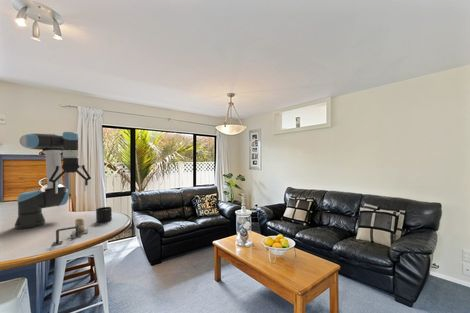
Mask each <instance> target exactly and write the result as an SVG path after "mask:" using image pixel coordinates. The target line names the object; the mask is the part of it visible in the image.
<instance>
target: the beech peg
mask: <svg viewBox="0 0 470 313" xmlns="http://www.w3.org/2000/svg"><path fill="white" fill-rule="evenodd" d="M74 221H75V225H76V224H78V233H82V232H84V229H85V217H78V218H75V220H74ZM75 230H76V228H75Z"/></svg>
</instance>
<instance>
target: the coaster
mask: <svg viewBox="0 0 470 313" xmlns="http://www.w3.org/2000/svg"><path fill="white" fill-rule="evenodd" d="M88 231H89V229H88V228H84V232H82V233H78V235H79V234H81V236H82V235H86V234H87V235H88V233H89V232H88ZM73 235H76V230H72V231H71V233H70V237H73Z"/></svg>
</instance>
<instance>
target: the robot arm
mask: <svg viewBox="0 0 470 313" xmlns="http://www.w3.org/2000/svg"><path fill="white" fill-rule="evenodd" d="M79 139H80V138H79V133H78V132H75V131H64V132H62V135H61V134H55V133H27V134H23V135H22V136H21V137H20V139H19V143H20V145H21V146H22V147H24V148H25V149H29V150H37V151H38V150H39V151H41V150H42V154H44V155H45V168H46V187H45V188H44V191H42V190H41V189H37V190H35V189H34V190H30V191H26V192H22V193H20V194H18V195H17V218H16V220H15V223H14V229H16V230H24V229H31V228H37V227H40V226H43V225H45V224H46V219H45V217H44V214H43V212H42V211H43V210H42V209H48V208H53V207H60V206H65V205H66V204H67V203H68V200H69V196H70V192H69V189H68V188H66V186H65V185H64V184H63V175H64V174H65V173H67V174H69V173H71V174H72V173H73V174H74V173H76V174H78V175H79V176H80V177H81V178H82V179H84V180H83V192H86V187H87V186H88V184H89V183H88V182H89V180H92V177H91V175H90V174H89V172H88V171H87V169H86V168H85V167H86V166H85V165H84V164H81V165H79V158H78V157H79ZM61 154H62V158H61ZM61 160H62V161H61ZM79 168H80V169H82V171H83V173H84V174H85V175H86V176H85V175H84V174H83V173H82V172H81V171H80V170H79Z"/></svg>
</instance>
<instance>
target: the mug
mask: <svg viewBox="0 0 470 313" xmlns="http://www.w3.org/2000/svg"><path fill="white" fill-rule="evenodd" d="M95 211H96V212H95V216H96V219H95V220H96V223H97V224H102V223H103V222H104V223H108V221H109V222H111V221H112V220H113V218H112V215H113V214H112V211H113V210H112V207H111V206H103V207H98V208H96V209H95Z"/></svg>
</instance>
